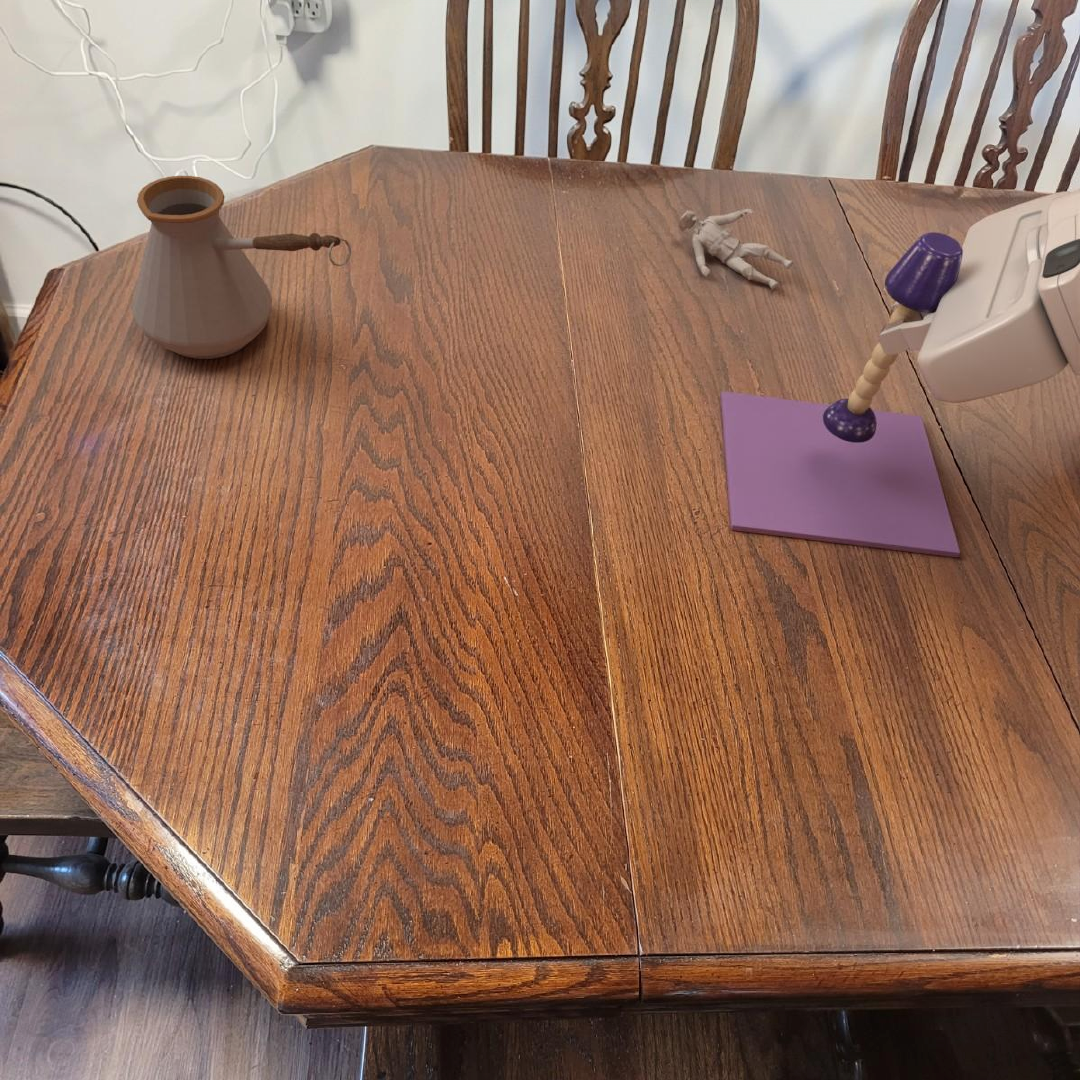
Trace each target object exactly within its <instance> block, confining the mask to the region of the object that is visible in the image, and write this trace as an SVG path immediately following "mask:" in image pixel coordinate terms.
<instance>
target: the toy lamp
mask: <svg viewBox="0 0 1080 1080" xmlns="http://www.w3.org/2000/svg"><path fill="white" fill-rule="evenodd" d="M962 255H963V250H962V245H961V244H960V242H959V241H958V240H956V239H955V238H953V237H952V236H950V235H948V234H945V233H942V232H936V231H933V232H931V231H930V232H926V233H924V234H922V235H921V236H920V237H919V238H917V239H916V241H915V242H914V243H913V244H912V245H911V246H910V247H909V248H908V250H907V251H905V252H904V254H903V255H902V256H901V257H900V258H899V260H898V261H897V262H896V263H895V264H894V266H893V267H892V268H891V270H889V272H888V273H887V275H886V277H885V280H884V289H885V290H886V292H887V294H888V295H889V296H890V298H891V299H892V300H893V301H895V302H898V308H897V309H896V310H895V311H894V312H893V313H892V315H891V317H890V318H889V321H888V324H889V323H893V322H895V321H897V320H900V319H903V318H905V319H906V321H907V322H915V321H916V315H918V314H919V313H920V312H924V313H925V312H927V313H934V312H936V310H937V308H938V305H939V303H940V300H941V298H942V296H943V295H944V294H945V293H946V292H947V291H948V290H949V289H950V288H951V287H952V286H953V285H954V284H955V283H956V281H957V278H958V275H959V270H960V265H961V261H962ZM871 353H872V354H871V358H870V359H869V360H868V361H867V362H866V364H865V366H864V368H863V372H862V373H863V374H862V375H860V376H859V378H858V379H857V381H856V384H855V388H854V390H852V392H851V393H850V395H849V397H848V398H840V399H838V400H836V401H834V402H832V403H831V404H829V405H830V406H829V407H828V408H827V409H826V410H825V412H824V414H823V422H824V425H825V426H826V428H827V429H828V431H829V432H831V433H832V434H833V435H834V436H836V437H838V438H840V439H842V440H844V441H848V442H853V443H860V442H866V441H868V440H870V439H871V438H872V437H873V436H874V434H875V431H876V425H877V421H876V417H875V414H874V412H873V411H872V410H873V409H872V408H871V405H872V403H873V398H874V397H875V396H876V394H878V392H879V391H880V388H881V384H882V382H883V381H884V380H885V379H886V378H887V376H888V374H889V372H890V367H891V366H892V365H893V364H894V363H895V361H896V360H897V358H898V357H899V356H898V355H899V353H897V354H894V355H887V354H886V353H885V352H884V351H883V349H882V347H881V345H880V343H879V342H877V344H876V345H875V347H874V349H873V350H872V352H871Z"/></svg>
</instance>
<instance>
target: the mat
mask: <svg viewBox="0 0 1080 1080" xmlns="http://www.w3.org/2000/svg"><path fill="white" fill-rule="evenodd" d="M830 405H831V404H828V403H820V402H812V401H803V400H797V399H796V400H795V399H788V398H780V397H772V396H763V395H757V394H749V393H748V394H747V393H739V392H732V391H724V390H723V391H721V393H720V408H721V420H722V421H721V422H722V433H723V447H724V459H725V473H726V485H727V496H728V510H729V521H730V522H729V523H730V529H731V530H730V531H735V532H736V531H737V532H743V533H744V532H745V533H752V534H753V533H754V534H762V535H770V536H779V537H784V538H785V537H786V538H793V539H803V540H811V541H817V542H818V541H819V542H828V543H836V544H844V545H851V546H860V547H869V548H876V549H885V550H893V551H900V552H910V553H919V554H926V555H933V556H943V557H951V558H958V557H959V556H960V554H961V550H960V546H959V544H958V540H957V536H956V533H955V529H954V526H953V522H952V519H951V516H950V511H949V508H948V504H947V502H946V501H947V500H946V498H945V494H944V491H943V487H942V484H941V481H940V476H939V473H938V469H937V466H936V463H935V460H934V455H933V453H932V452H933V451H932V449H931V445H930V441H929V437H928V434H927V431H926V428H925V424H924V421H923V417H922V416H921V415H917V414H915V415H914V414H907V413H900V412H891V411H883V410H876V409H872V411H873V412H874V414H875V417H876V421H877V425H876V431H875V434H874V436H873V437H872V438H871V439H870V440H868V441H866V442H860V443H853V442H848V441H844V440H842V439H840V438H838V437H836V436H834V435H833V434H832V433H831V432H829V431H828V429H827V428H826V426H825V425H824V422H823V414H824V412H825V410H826V409H827V408H828V407H829V406H830Z"/></svg>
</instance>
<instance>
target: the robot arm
mask: <svg viewBox="0 0 1080 1080" xmlns="http://www.w3.org/2000/svg"><path fill="white" fill-rule="evenodd" d="M961 247H962V250H963V255H962V261H961V265H960V270H959V275H958V278H957V281H956V283H955V284H954V285H953V286H952V287H951V288H950V289H949V290H948V291H947V292H946V293H945V294H944V295H943V296H942V298H941V300H940V303H939V305H938V308H937V310H936V312H934V313H927V312H925V313H924V312H920V313H919V314H918V315H916V321H915V322H907V321H906V319H905V318H903V319H900V320H897V321H895V322H893V323H889V322H888V323H887V324H885V325H883V328H882V329H881V332H880V334H879V336H878V340H877V341H878V343H880V345H881V347H882V349H883V351H884V352H885V353H886V354H887V355H894V354H897V353H898V354H900V353H903V352H907V351H917V352H918V351H919V352H918V355H917V358H916V362H917V365H918V368H919V370H920V372H921V374H922V377H923V379H924V381H925V383H926V385H927V386H928V388H929V391H930V392H931V394H932V396H933V397H934V398H935V400H937V401H940V402H943V403H944V402H946V403H949V404H961V403H966V402H970V401H975V400H979V399H985V398H988V397H993V396H997V395H1000V394H1004V393H1005V394H1006V393H1008V392H1012V391H1013V392H1014V391H1017V390H1019V389H1024V388H1027V387H1031V386H1033V385H1037V384H1041V383H1042V382H1044V381H1047V380H1049V379H1052V378H1053V377H1055V376H1057V375H1058V374H1059V373H1062V371H1063V370H1065V368H1066V367H1067V366H1068V365H1069V368H1070V369H1071V371H1072V373H1073V375H1076V376H1080V188H1078V189H1075V190H1073V191H1059V192H1054V193H1050V194H1048V195H1043V196H1040V197H1037V198H1034V199H1032V200H1029V201H1025V202H1023V203H1019V204H1016V205H1014V206H1011V207H1008V208H1005V209H1002V210H1000V211H996V212H995V213H992V214H989V215H987V216H985V217H984V218H982V219H980V220H978V221H977V222H975V223H974V224H972V225H971V226H970V228H969V229H968V231H967V233H966V236H965V238H964V241H963V243H962V245H961ZM897 308H898V302H897V301H895V302H894V303H893V305H892V308H891V309H890V312H889V316H888V317H889V319H890V317H891V315H892V313H893V312H894V311H895V310H896V309H897Z"/></svg>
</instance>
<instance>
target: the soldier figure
mask: <svg viewBox="0 0 1080 1080" xmlns="http://www.w3.org/2000/svg"><path fill="white" fill-rule="evenodd" d="M695 213H696V211H694V210H691V209H687V210H685V212H684V213H682V215H681V217H680V220H679V222H678V228H679V229H680V232H681V233H683V232H684V231H685V230H686V229H688V230H691V229H692V231H693V233H694V234H693V235H692V238H691V243H692V247H693V250H694V251H693V252H694V256H695V261H696V264H697V267H698V269H699V270H700V272H701V274H703V276H704V277H708V275H709V274H710V272H711V269H709V268H708V267H707V266H706V265H707V263H706V258H705V250H704V248H705V249H707V252H708V253H709V254H710V255H711V256H712V257H714V256H715V257H716V258H717V259H719V260H720V261H721V262H722V263H723V264H724V265H726V266H728V267H729V268H730V269H732V270H734V271H735V272H736V273H739V274H741V275H742V276H743V277H744V278H747V279H748V281H752V280H754V281H758V282H761V283H764V284H768V286H769V287H770V289H771V290H775V288H776V287H777V286H778V285H779V282H777V280H775V279H774V278H772V277H768V276H766V275H764V274H763V273H762V272H760V271H758V270H757V269H756V268H755V267H754V266H753V265H752V264H750V263H748V262H747V261H745V260H744V258H745V259H746V258H751V257H752V258H764V259H766V260H770V261H772V262H775V263H779V264H781V265H782V266H783V267H784V268H785V269H787V270H790V269H791V268H792V266H793V265H794V263H795V261H794V260H789V259H786V258H785V257H783V256H782V255H780V254H779V253H778V252H776V251H774V249H772V248H771V247H770V246H769V245H767V244H765V245H764V244H762V243H758V242H757V243H756V242H747V243H741V240H740V239H738V238H736V237H734V235H732V234H733V230H732V231H731V230H730V229H729V228H727V227H724V229H723V228H722V226H724V225H725V226H726V225H730V224H733V223H736V221H738V220H740V219H741V218H743V217H744V218H748V217H747V216H746V215H747V214H751V213H754V210H752V209H750V208H745V209H740V210H738V211H734V212H730V213H727V214H720V215H708V216H707V217H706V218H705V219H703V220H698V216H696V215H695Z"/></svg>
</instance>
